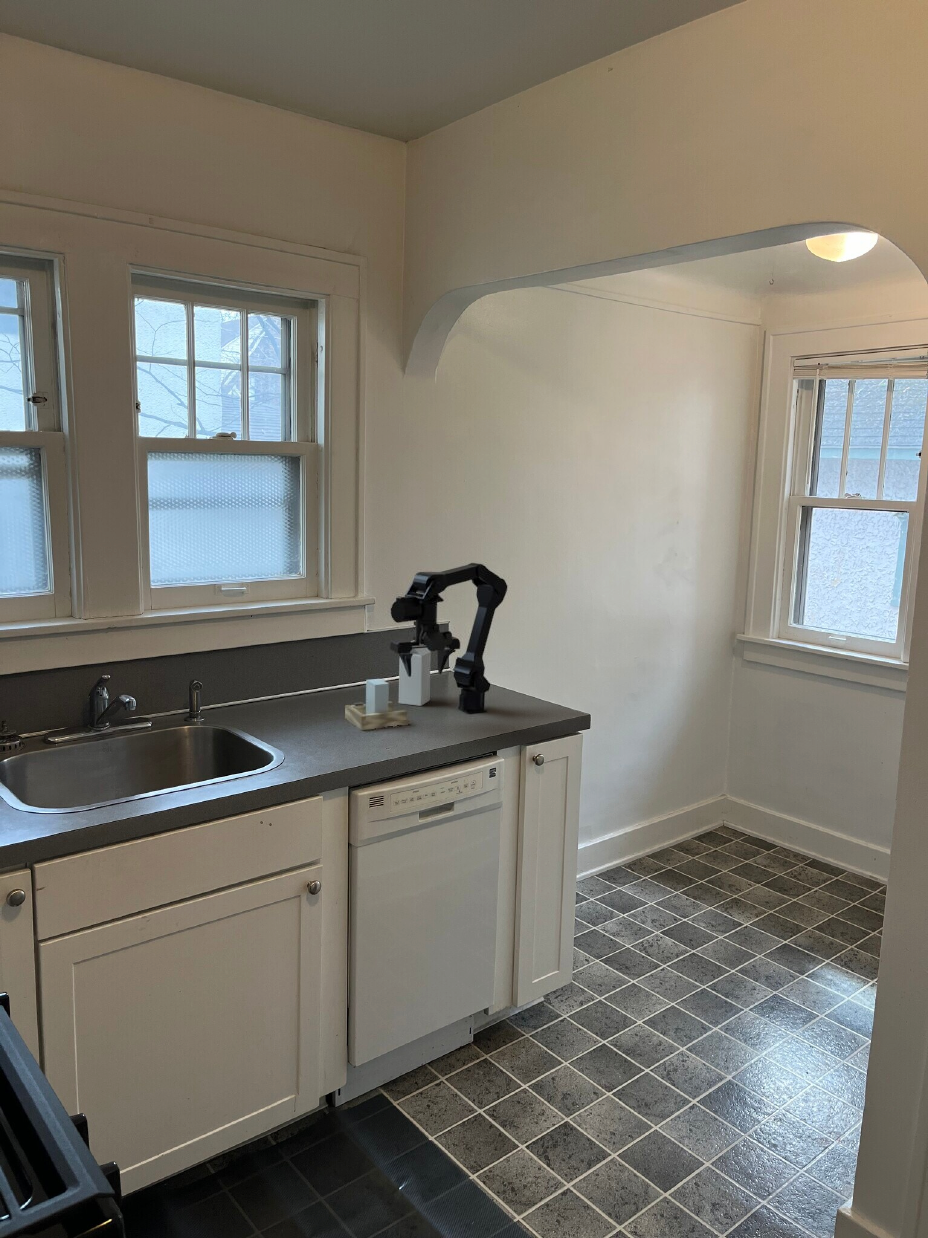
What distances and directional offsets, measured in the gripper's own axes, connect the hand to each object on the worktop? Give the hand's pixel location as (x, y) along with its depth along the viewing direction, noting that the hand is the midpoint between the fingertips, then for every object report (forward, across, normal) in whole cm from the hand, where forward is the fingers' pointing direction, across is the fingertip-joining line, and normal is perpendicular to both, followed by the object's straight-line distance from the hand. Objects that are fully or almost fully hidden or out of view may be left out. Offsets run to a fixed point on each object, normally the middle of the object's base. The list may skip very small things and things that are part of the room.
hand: (424, 675), depth 254 cm
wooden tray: (+13, -12, +4) cm, 18 cm away
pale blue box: (+12, -12, +4) cm, 17 cm away
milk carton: (+13, +6, +19) cm, 24 cm away
